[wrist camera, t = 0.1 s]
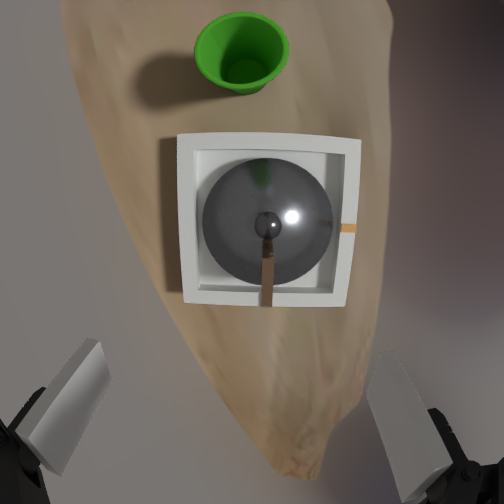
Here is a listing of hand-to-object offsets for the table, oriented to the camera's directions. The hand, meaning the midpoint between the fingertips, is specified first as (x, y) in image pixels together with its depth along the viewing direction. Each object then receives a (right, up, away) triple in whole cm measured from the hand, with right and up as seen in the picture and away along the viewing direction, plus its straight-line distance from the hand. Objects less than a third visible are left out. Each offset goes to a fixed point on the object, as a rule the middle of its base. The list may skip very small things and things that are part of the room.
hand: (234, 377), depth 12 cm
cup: (0, +28, +20) cm, 35 cm away
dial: (+3, +9, +24) cm, 26 cm away
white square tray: (+3, +10, +26) cm, 28 cm away
